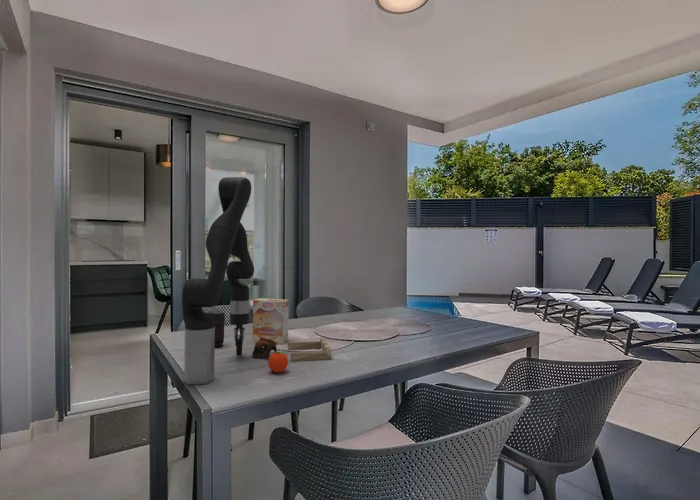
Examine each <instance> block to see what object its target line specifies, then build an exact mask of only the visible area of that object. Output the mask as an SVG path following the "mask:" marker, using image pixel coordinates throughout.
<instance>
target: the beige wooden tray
mask: <svg viewBox="0 0 700 500" xmlns="http://www.w3.org/2000/svg"><path fill="white" fill-rule="evenodd" d="M313 348H321V349H322V350H321V349H320V350H319V351H300V352H298V351H297V352H290V362H306V361H307V362H309V361H312V362H313V361H331V360H332V349H331V347H330V346H329V344H328V343H327V341H326V340H325V338H320V340H315V341H309V340H308V341H289V342H288V341H287V350H288V351H296V350H295V349H303V350H314V349H313ZM293 349H294V350H293Z"/></svg>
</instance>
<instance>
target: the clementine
mask: <svg viewBox="0 0 700 500" xmlns="http://www.w3.org/2000/svg"><path fill="white" fill-rule="evenodd" d="M288 356H289V355H288V353H287V352H284V351H277V352H275V353H272V354H270V355H269V358H268V363H267V364H268V365H267V366H268V368H269V369H270V370H271V371H272V372H274V373H281V372H283V371H285V370H286V368H287V367H288V364H289V359H288Z"/></svg>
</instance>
